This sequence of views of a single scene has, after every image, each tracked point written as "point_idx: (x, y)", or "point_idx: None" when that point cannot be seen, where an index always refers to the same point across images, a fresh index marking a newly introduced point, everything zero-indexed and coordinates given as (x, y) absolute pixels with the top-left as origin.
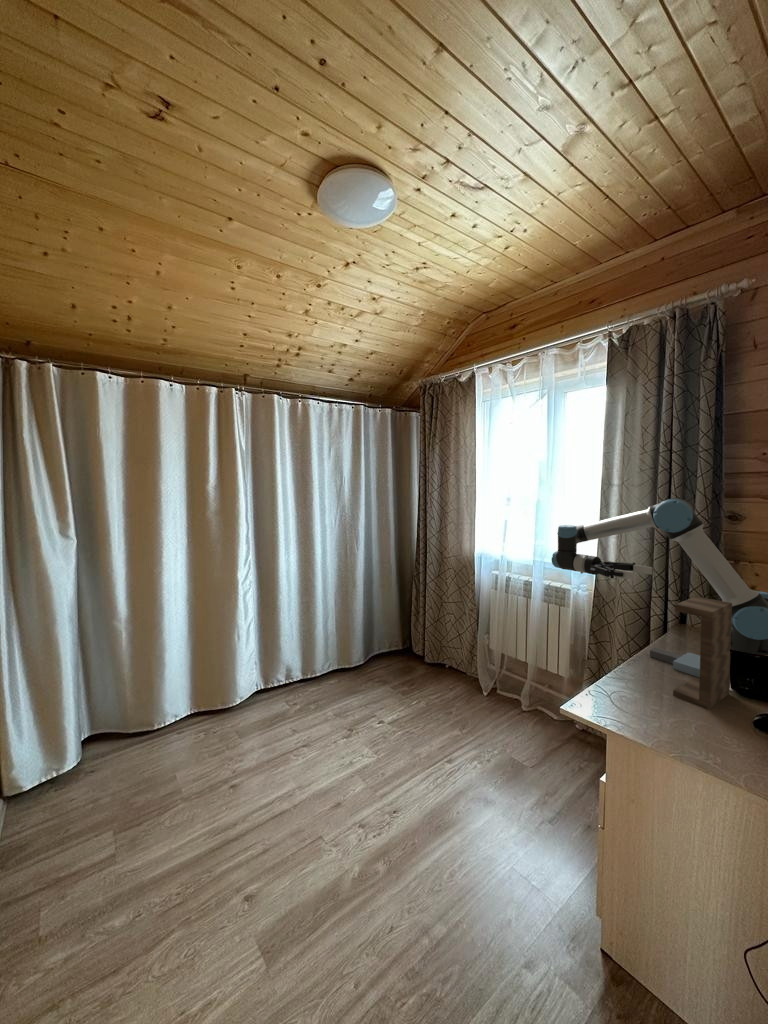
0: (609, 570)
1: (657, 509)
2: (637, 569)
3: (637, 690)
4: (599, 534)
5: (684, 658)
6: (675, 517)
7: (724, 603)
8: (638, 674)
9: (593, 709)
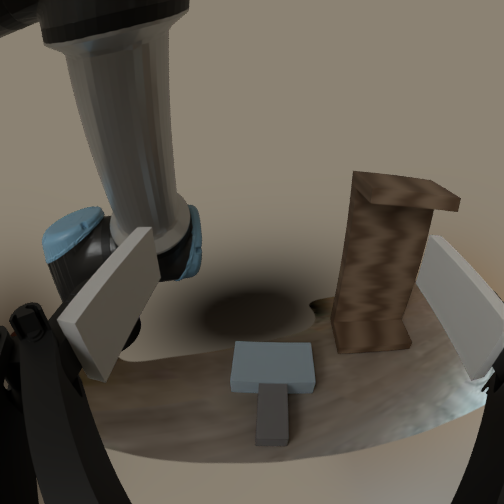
0: None
1: None
2: (110, 329)
3: (445, 376)
4: None
5: (278, 375)
6: None
7: (368, 173)
8: (399, 410)
9: None
